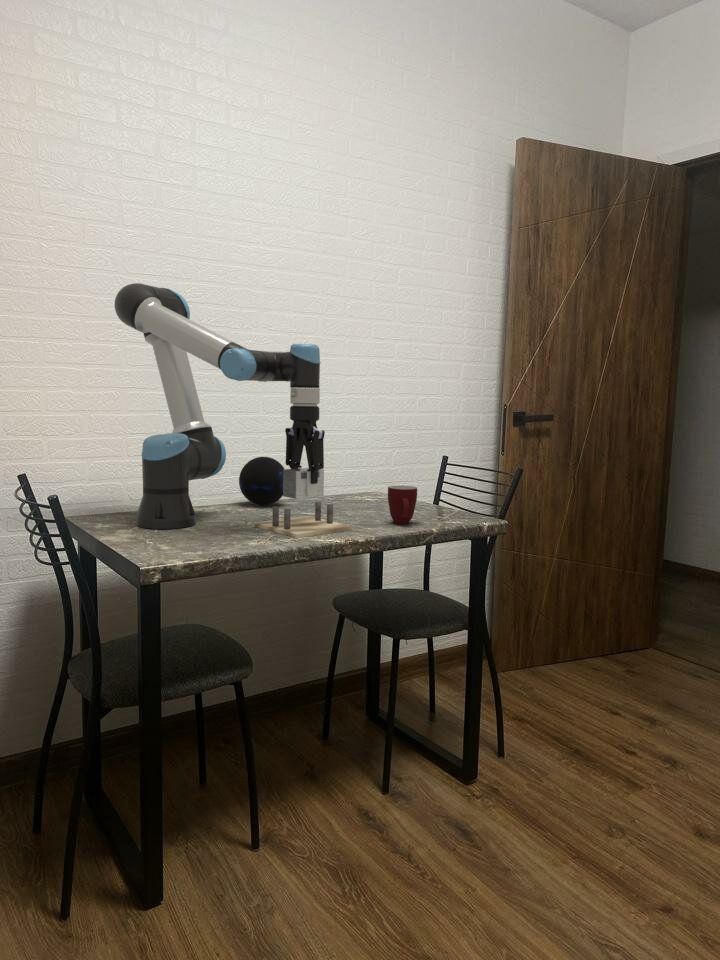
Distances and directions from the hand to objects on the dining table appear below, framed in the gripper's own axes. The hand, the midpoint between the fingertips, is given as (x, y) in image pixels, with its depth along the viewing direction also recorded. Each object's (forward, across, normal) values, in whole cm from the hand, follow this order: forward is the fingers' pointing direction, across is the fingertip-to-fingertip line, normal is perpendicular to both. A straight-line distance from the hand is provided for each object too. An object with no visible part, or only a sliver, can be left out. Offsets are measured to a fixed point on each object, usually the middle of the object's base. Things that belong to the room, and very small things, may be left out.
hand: (304, 494), depth 190 cm
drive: (0, 0, 0) cm, 0 cm away
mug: (+9, +11, +26) cm, 30 cm away
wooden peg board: (+9, 0, 0) cm, 9 cm away
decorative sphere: (+9, -37, +13) cm, 40 cm away
